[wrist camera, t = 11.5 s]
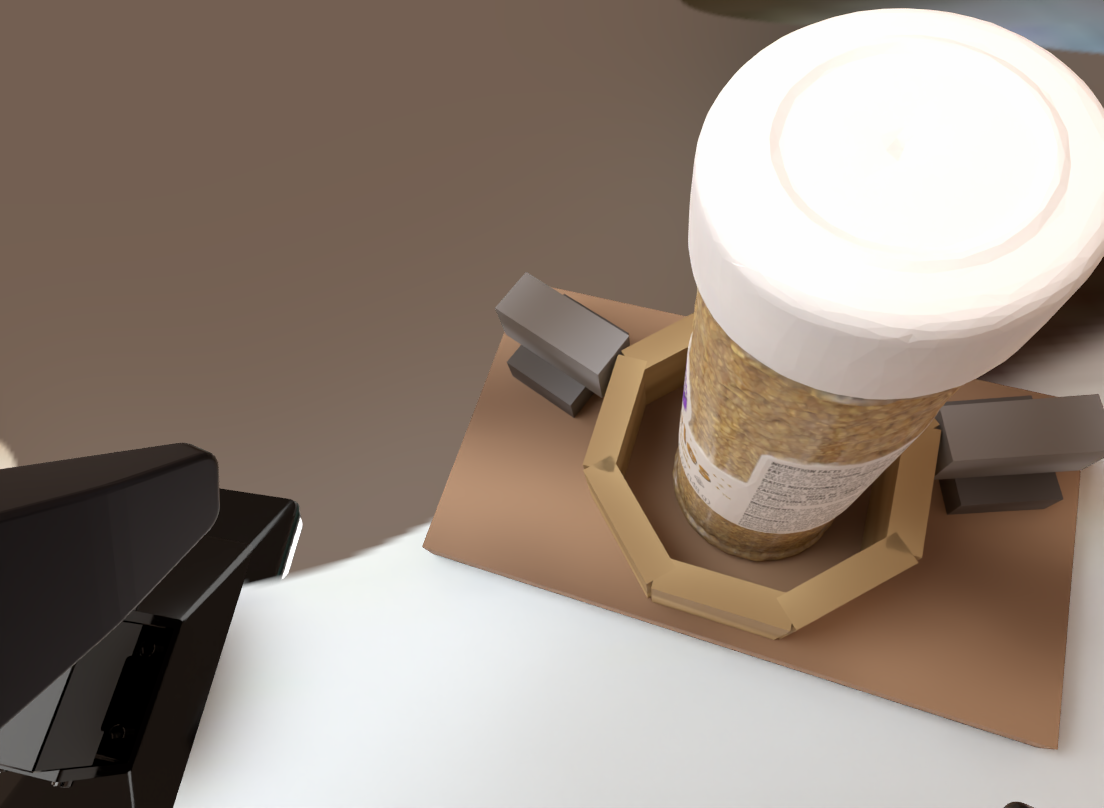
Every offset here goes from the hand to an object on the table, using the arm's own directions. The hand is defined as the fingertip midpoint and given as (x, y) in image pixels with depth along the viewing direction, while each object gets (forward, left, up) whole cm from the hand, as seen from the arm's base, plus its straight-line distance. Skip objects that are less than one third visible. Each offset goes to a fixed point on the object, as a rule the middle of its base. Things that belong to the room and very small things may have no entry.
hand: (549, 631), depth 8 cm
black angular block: (-5, +14, -14) cm, 20 cm away
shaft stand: (+6, -2, -13) cm, 15 cm away
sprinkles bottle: (+6, -2, -12) cm, 14 cm away
